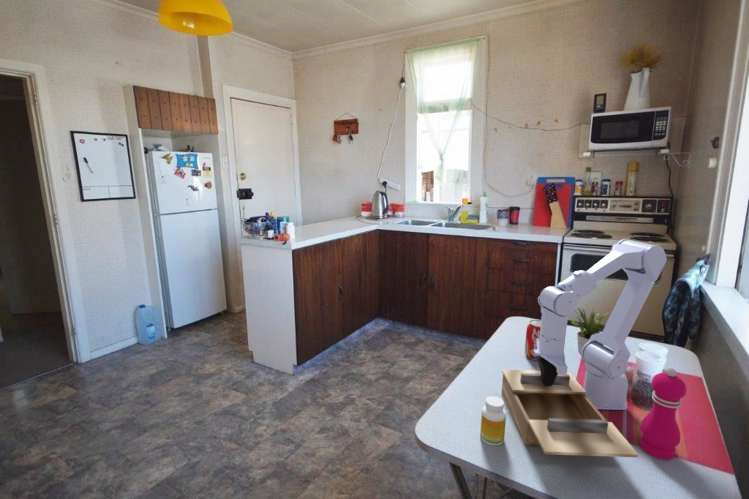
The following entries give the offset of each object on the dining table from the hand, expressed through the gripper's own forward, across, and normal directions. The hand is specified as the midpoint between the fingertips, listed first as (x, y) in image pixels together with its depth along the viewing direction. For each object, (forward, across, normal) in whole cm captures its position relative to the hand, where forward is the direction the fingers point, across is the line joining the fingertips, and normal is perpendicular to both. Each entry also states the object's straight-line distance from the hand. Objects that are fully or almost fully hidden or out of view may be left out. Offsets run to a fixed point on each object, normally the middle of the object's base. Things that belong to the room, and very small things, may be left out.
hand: (547, 384), depth 99 cm
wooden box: (+8, +3, 0) cm, 8 cm away
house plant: (+8, -33, +25) cm, 42 cm away
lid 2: (+1, +18, 0) cm, 18 cm away
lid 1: (+1, -3, 0) cm, 4 cm away
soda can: (+8, -29, +8) cm, 31 cm away
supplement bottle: (+8, +11, -16) cm, 21 cm away
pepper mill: (+8, +13, +20) cm, 25 cm away
